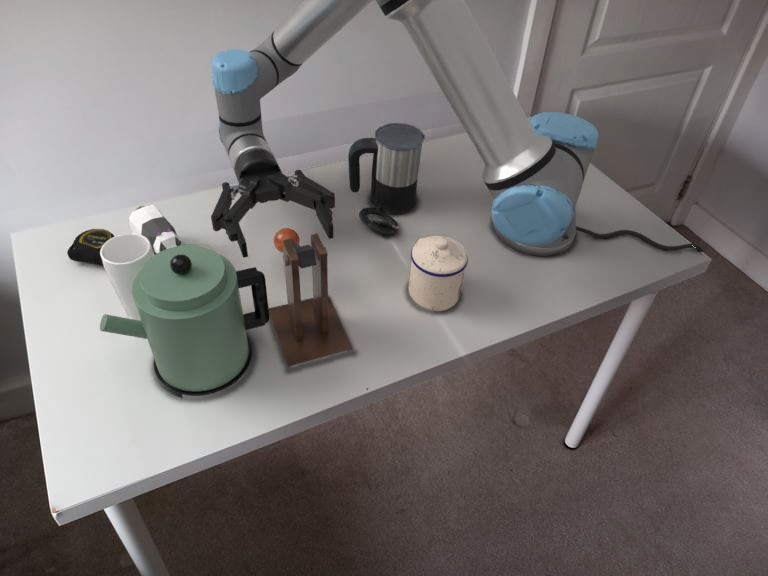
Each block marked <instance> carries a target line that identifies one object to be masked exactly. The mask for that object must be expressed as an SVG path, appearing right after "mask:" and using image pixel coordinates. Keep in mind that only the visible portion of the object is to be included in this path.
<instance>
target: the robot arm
mask: <svg viewBox="0 0 768 576" xmlns="http://www.w3.org/2000/svg"><path fill="white" fill-rule="evenodd" d="M373 1H374V0H303V1H301V2H300V3H299V4H298V6H296V7H295V8H294V9H293V10H292V12H291V13H290V14H288V16H287V17H286V18H285V19H284V20H283V21H282V22H281V23H280V24H279V25H278V26H277V27H276V28H275V29H274V30H272V32H271V33H270V34H269V35H268V36H267V37H266V38H265V39H264V40H263V41H262V42H261V43H260V44H259V45H257V46H256V47H255V48H253V49H251V50H250V51H247V50H243V49H236V48H233V49H232V48H231V49H227V50H226V51H220V52H218V53H216V54H215V55H214V56H213V58H212V60H211V70H212V85H213V89H214V95H215V100H216V106H217V112H218V123H217V130H218V134H219V135H218V136H219V140H220V143H221V144H222V145H223V147H224V150H225V152H226V155H227V157H228V159H229V162H230V164H231V167H232V169H233V172H234V175H235V177H236V179H237V182H238V184H236V185H230V183H229V182H227V181H225V182H222V184H221V188H222V192H221V193H220V196H219V198H218V200H217V203H216V205H215V207H214V209H213V211H212V214H211V215H210V219H211V224H212V230H213V231H215V232H219V231H221V230H225V234H226V235H227V238H228V239H229V241H230V242H231V243H233V242H237V244H238V248H239V249H240V252H241V255H242V258H247V257H249V252H248V245H247V241H246V238H245V236H244V233H243V231H242V227H241V225H240V222H241V221H242V219H243V218H244V217H245V216H246V215H247V213H248V212H249V211H250V209H251V210H253V209H254V207H256V205H257V203H260V204H264V203H268V202H275V201H279V200H280V201H283V202H286V203H289V202H292V203H296V204H297V205H300V206H303V207H306V208H308V209H311V210H314V211H315V214H316V215H315V216H316V218H317V219H318V221H319V223H320V225H321V227H322V229H323V232H324V233H325V234H326V236H327V238H328V240H332V239H334V223H333V211H332V209H335V207H336V194H335V192H333V191H331V190H330V189H329V188H326V187H325V186H324V185H321V184H320V183H318V182H316V181H315V180H313V179H311V178H309V176H307V175H305V174H304V172H303V171H302V170H301V169H295V170H294V174H293V175H292V174H291V175H288V176H287V175H286V174H284V173H283V172H282V169H281V167H280V165H279V164H278V162H277V161H278V160H277V159H276V158H275V155H274V152H273V151H272V149H271V148H270V145H269V143H268V141H267V139H266V136H265V135H264V130H263V120H262V108H261V107H262V106H261V99H262V98H264V97H265V96H266V95H268V94H269V93H270V92H271V91H273V90H274V89H275V88H276V87H277V86H279V85H280V84H281V83H283V82H284V81H286V80H287V79H288V78H290V77H292V76H293V75H294V74H295V73H297V72H298V70H299V69H300V68H301V67H302V66H303V64H305V62H307V61H308V60H309V59H310V58H311V57H312V56H313V55H314V54H316V53H317V52H318V50H320V49H321V48H322V47H323V46H324V45H325V44H326V43H328V42H329V41H330V40H331V39H332V38H333V37H334V36H335V35H336V34H338V32H340V31H341V30H342V29H343V28H344V27H345V26H347V24H348V23H350V22H351V21H352V20H353V19H354V18H355V17H357V16H358V15H359V14H360V13H361V12H362V11H363V10H364V9H366V8H367V6H369V5H370V4H371V3H372V2H373ZM375 1H376V3H377V5H378V6H379V9H380V10H381V13H383V15H384V17H385V18H386V19H390V20H394V21H398V22H400V23H401V24H402V25H403V27H404V29H405V30H406V31H407V33H408V35H409V36H410V39H411V40H412V42H413V43H414V45H415V48H417V50H418V53H420V55H421V57H422V59H423V61H424V62H425V64H426V65H427V67H428V69H429V71H430V73H431V74H432V76H433V78H434V80H435V81H436V83H437V85H438V86H439V88H440V90H441V91H442V93H443V94H444V97H445V98H446V100H447V102H448V103H449V105H450V107H451V108H452V110H453V112H454V114H455V115H456V117H457V119H458V120H459V122H460V124H461V126H462V128H463V129H464V131H465V133H466V134H467V136H468V138H469V139H470V141H471V142H472V144H473V146H474V148H475V150H476V152H477V153H478V155H479V157H480V159H481V160H482V162H483V163H484V166H483V170H482V173H481V179H482V182H483V183H484V185H485V187H486V188H487V190H488V192H489V193H490V195H491V196H492V199H493V201H492V205H491V219H492V224H493V227H494V231H495V233H496V235H497V237H498V238H499V239H500V241H502V242H503V243H505V245H507V246H508V247H510V248H512V249H514V250H516V251H518V252H521V253H524V254H527V255H531V256H540V257H545V256H546V257H547V256H554V255H555V256H556V255H559V254H561V253H563V252H565V251H567V250H568V249H569V248H570V247H571V246H572V244H573V242H574V240H575V236H576V234H577V231H578V232H581V233H584V234H587V235H589V236H592V237H594V238H598V239H608V238H613V237H615V236H620V235H631V236H635V237H637V238H639V239H641V240H642V241H644V242H646V243H648V244H649V245H651V246H653V247H655V248H657V249H660V250H664V251H679V250H680V251H681V250H685V249H695V250H697V249H698V250H697V251H698V252H699V253H703V252H704V250H703V248H702V246H700V245H699V244H696V243H685V244H680V245H673V246H672V245H666V244H665V245H664V244H661V243H658V242H657V241H656V240H655V241H654V240H652V239H651V238H649V237H647V236H646V235H645V234H642V233H640V232H638V231H635V230H629V229H620V230H616V231H613V232H610V233H604V234H603V233H598V232H595V231H592V230H590V229H586V228H584V227H581V226H579V225H577V215H576V208H577V204H578V201H579V198H580V194H581V192H582V188H583V185H584V181H585V178H586V175H587V172H588V169H589V167H590V163H591V160H592V158H593V154H594V152H595V149H597V147H598V144H597V143H598V139H599V132H598V129H597V127H596V126H594V124H592V123H591V122H590V121H587V120H586V119H584V118H582V117H579V116H577V115H573V114H569V113H565V112H560V111H559V112H558V111H544V112H539V113H536V114H534V115H533V116H532V117H531V118H530V119H528V116H527V115H526V113H525V112H524V109H523V107H522V105H521V104H520V101H519V100H518V98H517V96H516V95H515V93H514V91H513V89H512V87H511V85H510V83H509V81H508V79H507V77H506V76H505V73H504V72H503V70H502V68H501V66H500V64H499V63H498V61H497V59H496V57H495V55H494V53H493V51H492V48H490V45H489V43H488V42H487V40H486V38H485V36H484V34H483V32H482V31H481V28H480V27H479V25H478V23H477V21H476V19H475V17H474V16H473V14H472V12H471V10H470V8H469V6H468V4H467V3H466V1H465V0H375ZM238 194H240V196H239V198H238V199H237V200H236V201H235V203H233V201H234V200H235V199H236V197H237V195H238ZM232 204H233V205H232ZM692 245H693V246H694V247H696V248H694V247H693V246H692Z"/></svg>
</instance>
